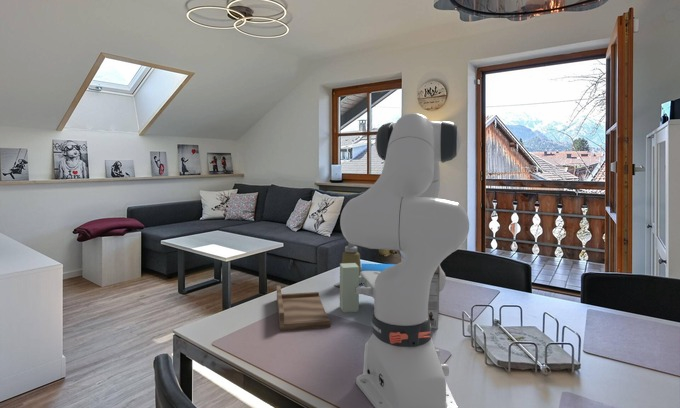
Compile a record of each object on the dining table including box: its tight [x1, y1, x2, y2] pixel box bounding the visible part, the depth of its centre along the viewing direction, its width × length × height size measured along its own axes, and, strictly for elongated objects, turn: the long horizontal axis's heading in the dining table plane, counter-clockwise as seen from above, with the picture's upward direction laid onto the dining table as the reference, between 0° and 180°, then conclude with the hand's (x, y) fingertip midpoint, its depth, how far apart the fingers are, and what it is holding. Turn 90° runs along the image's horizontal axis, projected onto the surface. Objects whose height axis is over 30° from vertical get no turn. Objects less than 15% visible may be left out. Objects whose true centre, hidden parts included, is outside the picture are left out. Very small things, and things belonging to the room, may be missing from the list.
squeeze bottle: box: [341, 242, 362, 276], centre depth 149 cm, size 8×8×18 cm
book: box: [361, 263, 397, 272], centre depth 159 cm, size 17×4×25 cm
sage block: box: [339, 263, 360, 313], centre depth 125 cm, size 5×5×14 cm
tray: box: [276, 284, 331, 332], centre depth 123 cm, size 25×14×5 cm, turn 11°
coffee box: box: [428, 266, 440, 329], centre depth 115 cm, size 9×6×16 cm
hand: (352, 285), depth 125 cm, fingers open, 8 cm apart
